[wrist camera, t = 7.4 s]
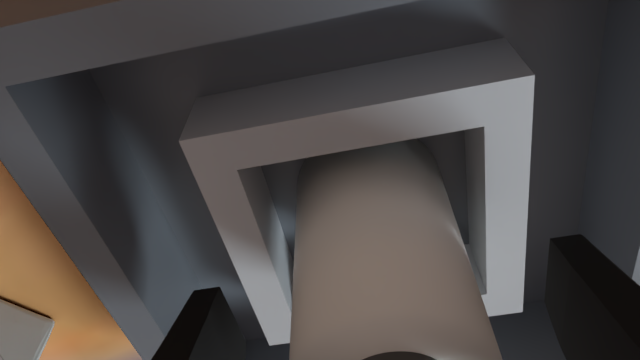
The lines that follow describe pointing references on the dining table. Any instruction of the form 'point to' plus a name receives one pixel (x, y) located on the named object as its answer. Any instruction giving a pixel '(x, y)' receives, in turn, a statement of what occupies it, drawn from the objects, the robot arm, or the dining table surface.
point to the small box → (22, 332)
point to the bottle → (382, 262)
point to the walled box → (317, 140)
